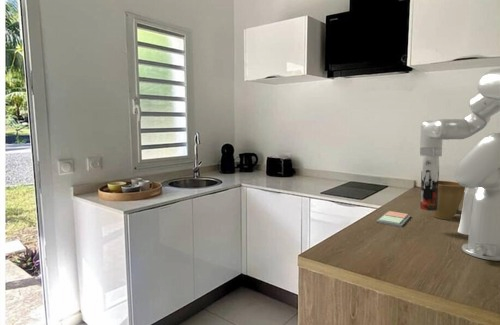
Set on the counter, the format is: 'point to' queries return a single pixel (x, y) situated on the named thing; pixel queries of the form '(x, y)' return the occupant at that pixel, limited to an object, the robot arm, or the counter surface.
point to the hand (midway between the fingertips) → (429, 197)
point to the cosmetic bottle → (466, 211)
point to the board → (394, 218)
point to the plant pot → (448, 199)
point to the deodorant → (427, 203)
